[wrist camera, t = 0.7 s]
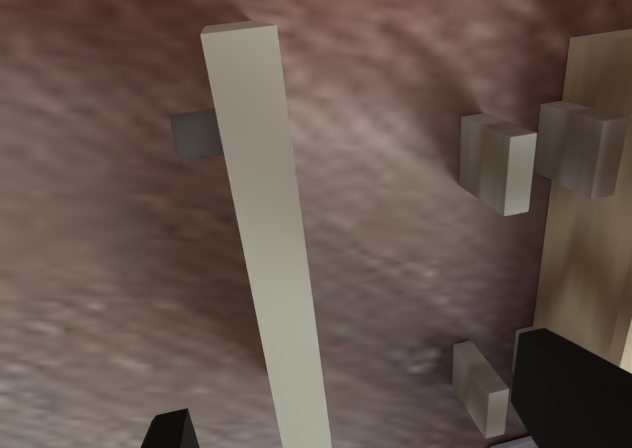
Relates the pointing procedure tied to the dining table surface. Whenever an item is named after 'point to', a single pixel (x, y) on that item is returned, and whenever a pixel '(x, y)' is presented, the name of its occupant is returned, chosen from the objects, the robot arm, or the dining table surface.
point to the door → (264, 213)
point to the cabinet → (563, 212)
